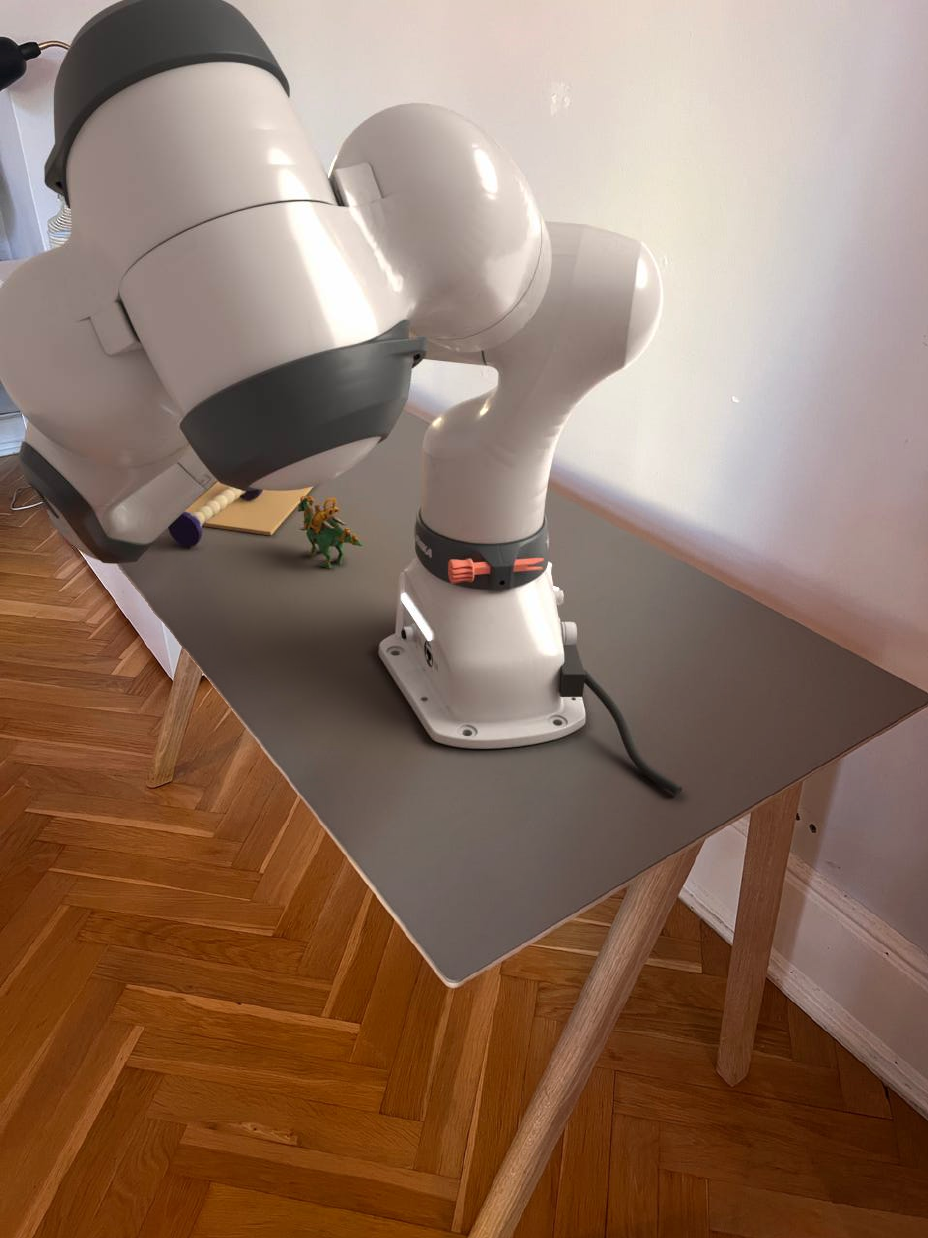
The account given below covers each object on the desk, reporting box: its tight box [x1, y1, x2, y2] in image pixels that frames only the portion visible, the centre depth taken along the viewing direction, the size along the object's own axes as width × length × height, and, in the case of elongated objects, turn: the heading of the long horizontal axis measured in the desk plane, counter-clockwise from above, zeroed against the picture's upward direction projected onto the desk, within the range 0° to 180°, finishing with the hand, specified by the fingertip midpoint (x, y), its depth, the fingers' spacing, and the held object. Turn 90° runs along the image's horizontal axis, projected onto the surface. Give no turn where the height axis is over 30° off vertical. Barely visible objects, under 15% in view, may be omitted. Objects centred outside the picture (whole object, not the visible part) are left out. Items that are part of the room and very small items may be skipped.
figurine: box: [297, 495, 363, 569], centre depth 100 cm, size 3×12×8 cm, turn 42°
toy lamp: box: [167, 486, 263, 548], centre depth 109 cm, size 5×5×17 cm
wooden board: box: [184, 480, 315, 536], centre depth 121 cm, size 30×12×1 cm, turn 168°
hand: (211, 471), depth 103 cm, fingers closed
